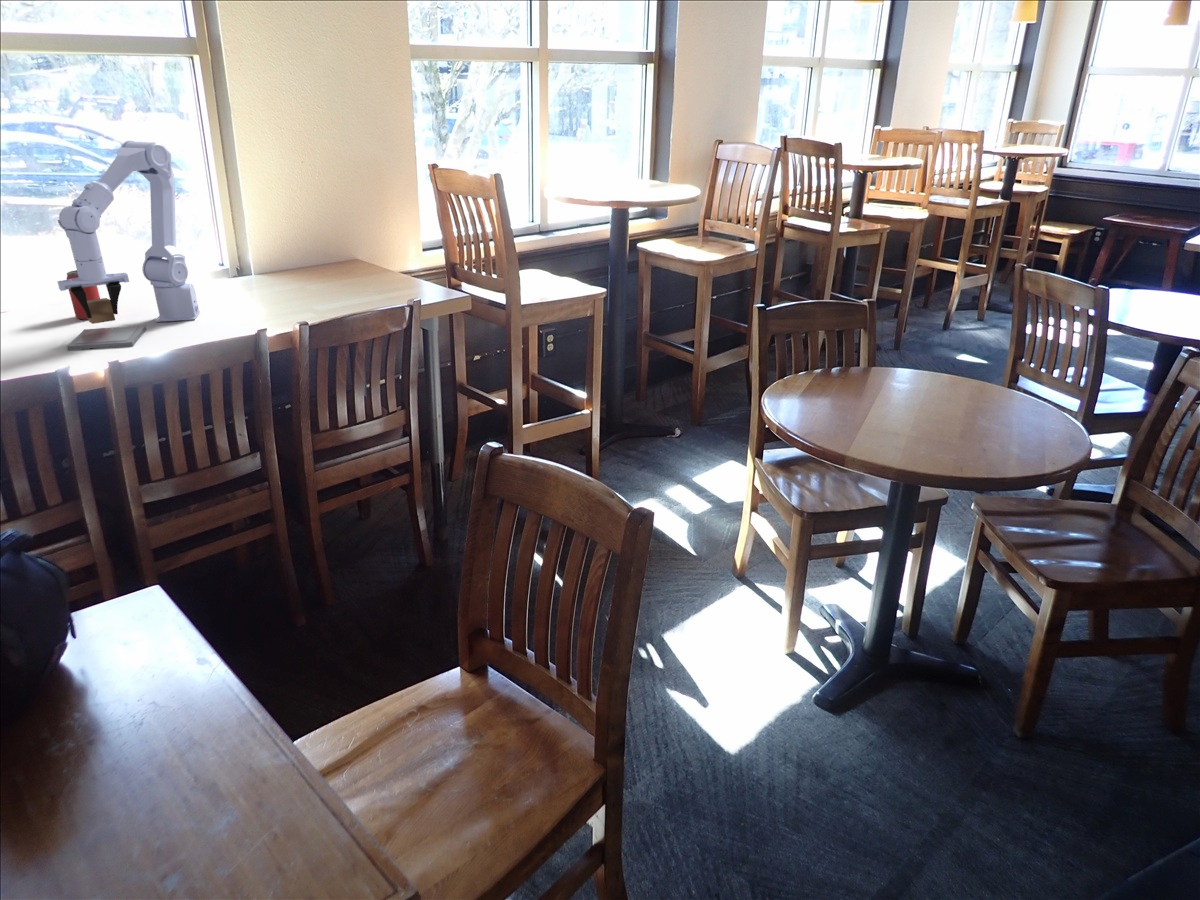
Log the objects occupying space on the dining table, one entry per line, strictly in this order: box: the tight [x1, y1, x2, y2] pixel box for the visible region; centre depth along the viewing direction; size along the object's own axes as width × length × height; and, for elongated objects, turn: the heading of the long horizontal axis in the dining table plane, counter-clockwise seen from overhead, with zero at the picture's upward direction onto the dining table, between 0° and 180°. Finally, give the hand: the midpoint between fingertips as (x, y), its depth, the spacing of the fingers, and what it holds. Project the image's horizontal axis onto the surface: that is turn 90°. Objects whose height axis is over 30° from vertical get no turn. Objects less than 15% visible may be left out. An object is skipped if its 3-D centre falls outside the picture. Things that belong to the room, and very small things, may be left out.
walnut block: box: [87, 297, 116, 325], centre depth 204 cm, size 5×5×5 cm
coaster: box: [66, 325, 147, 351], centre depth 204 cm, size 14×14×1 cm
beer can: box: [66, 269, 101, 321], centre depth 220 cm, size 7×7×12 cm
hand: (102, 315), depth 202 cm, fingers closed on walnut block, 5 cm apart
